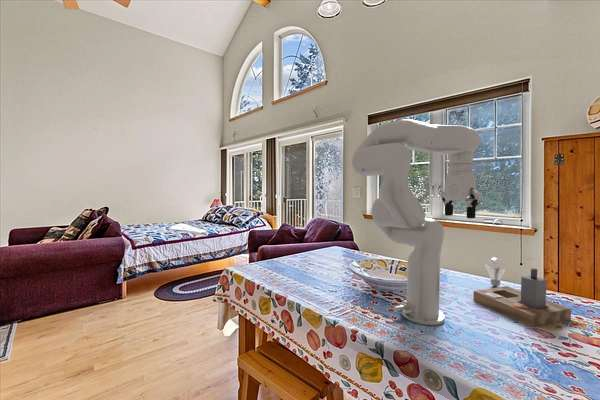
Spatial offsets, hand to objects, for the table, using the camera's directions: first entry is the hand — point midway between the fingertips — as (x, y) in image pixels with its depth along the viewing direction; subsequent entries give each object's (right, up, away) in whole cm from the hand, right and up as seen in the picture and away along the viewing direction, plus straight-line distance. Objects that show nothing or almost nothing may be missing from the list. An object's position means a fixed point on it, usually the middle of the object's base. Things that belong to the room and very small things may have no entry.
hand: (459, 216), depth 101 cm
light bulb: (+22, -30, +13) cm, 39 cm away
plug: (+17, -31, -12) cm, 37 cm away
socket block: (+15, -31, -8) cm, 35 cm away
